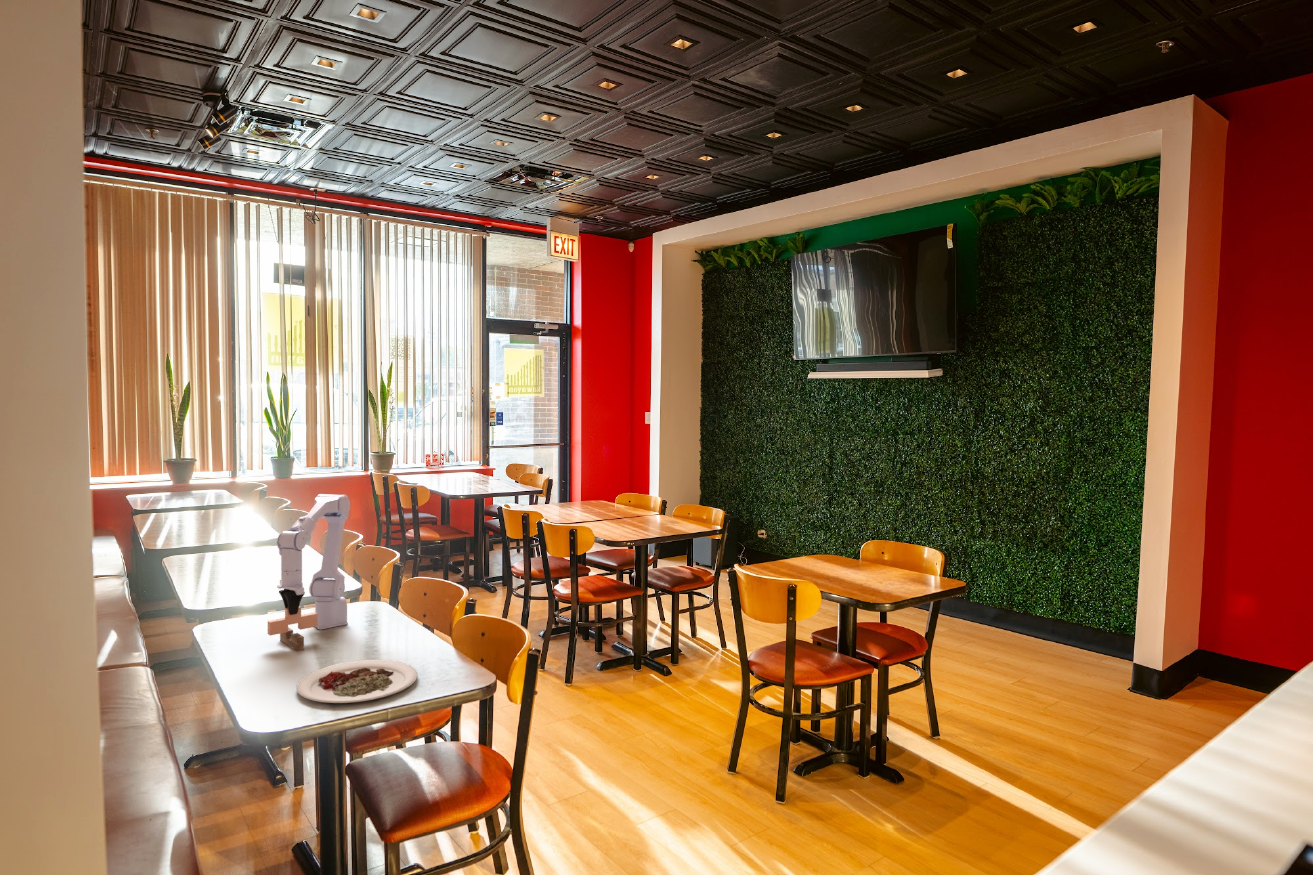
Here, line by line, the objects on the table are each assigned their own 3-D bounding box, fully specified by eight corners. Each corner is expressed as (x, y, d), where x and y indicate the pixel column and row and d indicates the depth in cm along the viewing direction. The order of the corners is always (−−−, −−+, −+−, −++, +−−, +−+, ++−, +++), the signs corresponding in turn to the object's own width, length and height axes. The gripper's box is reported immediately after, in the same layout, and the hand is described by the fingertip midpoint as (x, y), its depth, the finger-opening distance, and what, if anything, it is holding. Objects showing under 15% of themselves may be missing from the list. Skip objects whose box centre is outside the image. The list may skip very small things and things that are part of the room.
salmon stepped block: (315, 624, 235) (315, 603, 234) (317, 626, 233) (317, 604, 233) (267, 633, 225) (267, 611, 224) (269, 635, 223) (270, 612, 223)
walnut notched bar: (286, 638, 234) (286, 626, 234) (303, 649, 225) (303, 636, 225) (280, 640, 233) (280, 627, 233) (297, 651, 223) (297, 638, 223)
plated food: (421, 699, 190) (421, 687, 190) (291, 715, 179) (291, 702, 179) (413, 661, 218) (413, 649, 218) (301, 672, 207) (301, 660, 207)
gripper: (269, 567, 230) (269, 610, 231) (286, 575, 220) (286, 621, 220) (293, 564, 235) (293, 606, 236) (311, 572, 225) (311, 616, 226)
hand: (291, 613), depth 228 cm, fingers closed on salmon stepped block, 2 cm apart
